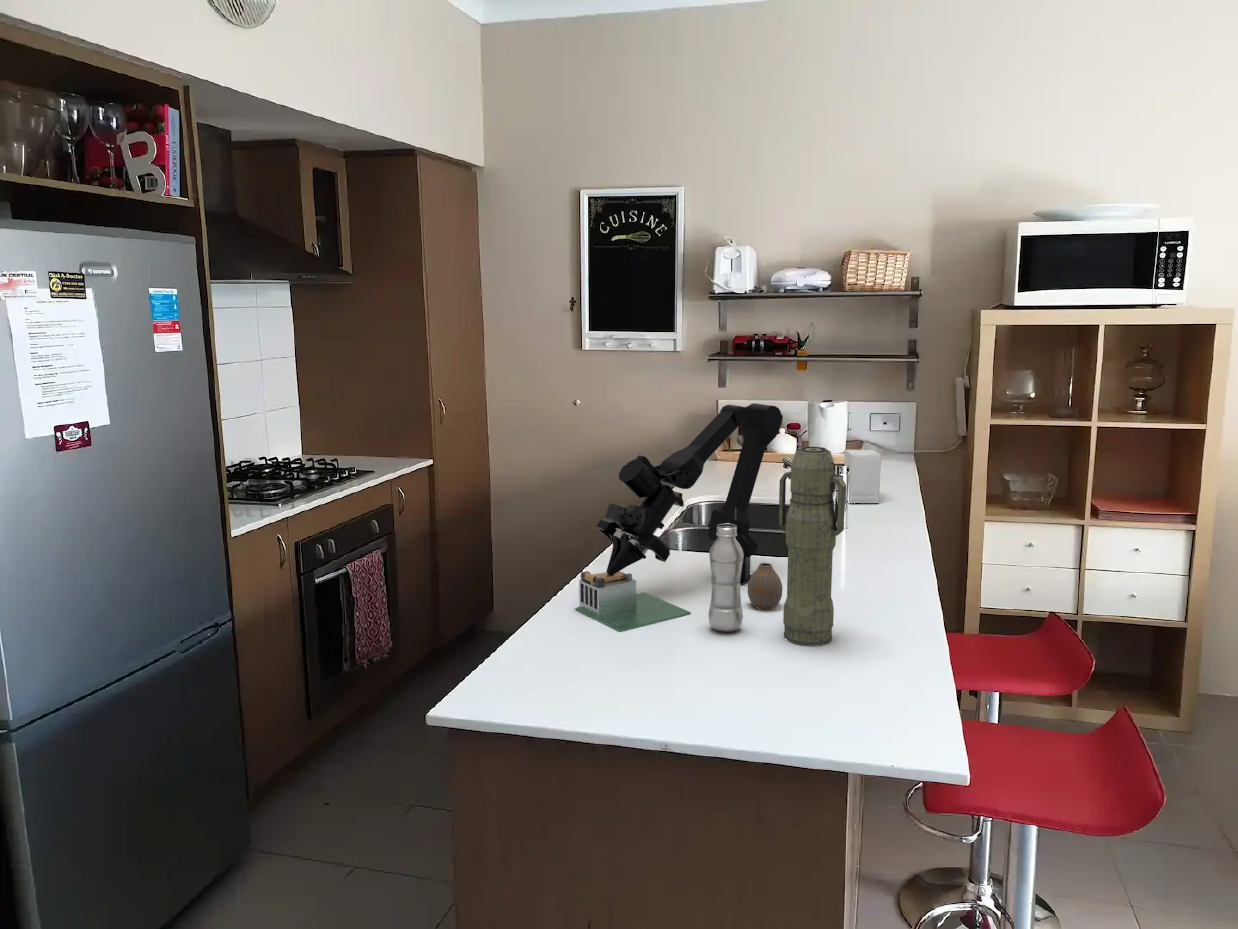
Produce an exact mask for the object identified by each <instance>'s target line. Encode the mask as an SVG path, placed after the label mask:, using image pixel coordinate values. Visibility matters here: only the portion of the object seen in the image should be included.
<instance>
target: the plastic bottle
mask: <svg viewBox="0 0 1238 929" xmlns="http://www.w3.org/2000/svg"><path fill="white" fill-rule="evenodd" d="M716 536H718V539H717V540H716V541H715V543H714V544H713V543H712V546H711V547H710V548H709V552H708V554H709V563H710V571H711V595H710V604H709V609H708V621H709V625H710V626H711V628H712V629H713V630H714V631H719V632H734V631H737V630H739V629H740V627H742V624H743V620H744V613H743V607H742V600H741V596H742V595H741V584H740V581H741V570H742V564H743V556H744V554H743V550H742V548H741V546H740V544H739V543H738V541H737V540H736V538H735V537H736V536H737V527H736V525H734V524H719V525H717V533H716Z"/></svg>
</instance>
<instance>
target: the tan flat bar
mask: <svg viewBox="0 0 1238 929" xmlns="http://www.w3.org/2000/svg"><path fill="white" fill-rule="evenodd" d="M590 573H591V572H590ZM590 573H585V580H588V581H590V582H592V583H595V578H600V577H602V578H604V579H605V581H611V580H619V579H626V574H627V573H625V572H622V571H621V570H620V571H619V572H617V573H615V574H613V575H609V574H608V573H607V572H600V573H591V574H590Z"/></svg>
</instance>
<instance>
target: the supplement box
mask: <svg viewBox="0 0 1238 929" xmlns="http://www.w3.org/2000/svg"><path fill="white" fill-rule="evenodd" d="M843 463H844V465H847V466H850V468H849V503H848V504H849V505H856V504H855V503H879V504H880V486H881V468H882V467H881V465H882V454H880V453H879V452H878V451H877V450H875V449H845V450H844V462H843ZM850 503H851V504H850ZM852 503H854V504H852Z"/></svg>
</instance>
